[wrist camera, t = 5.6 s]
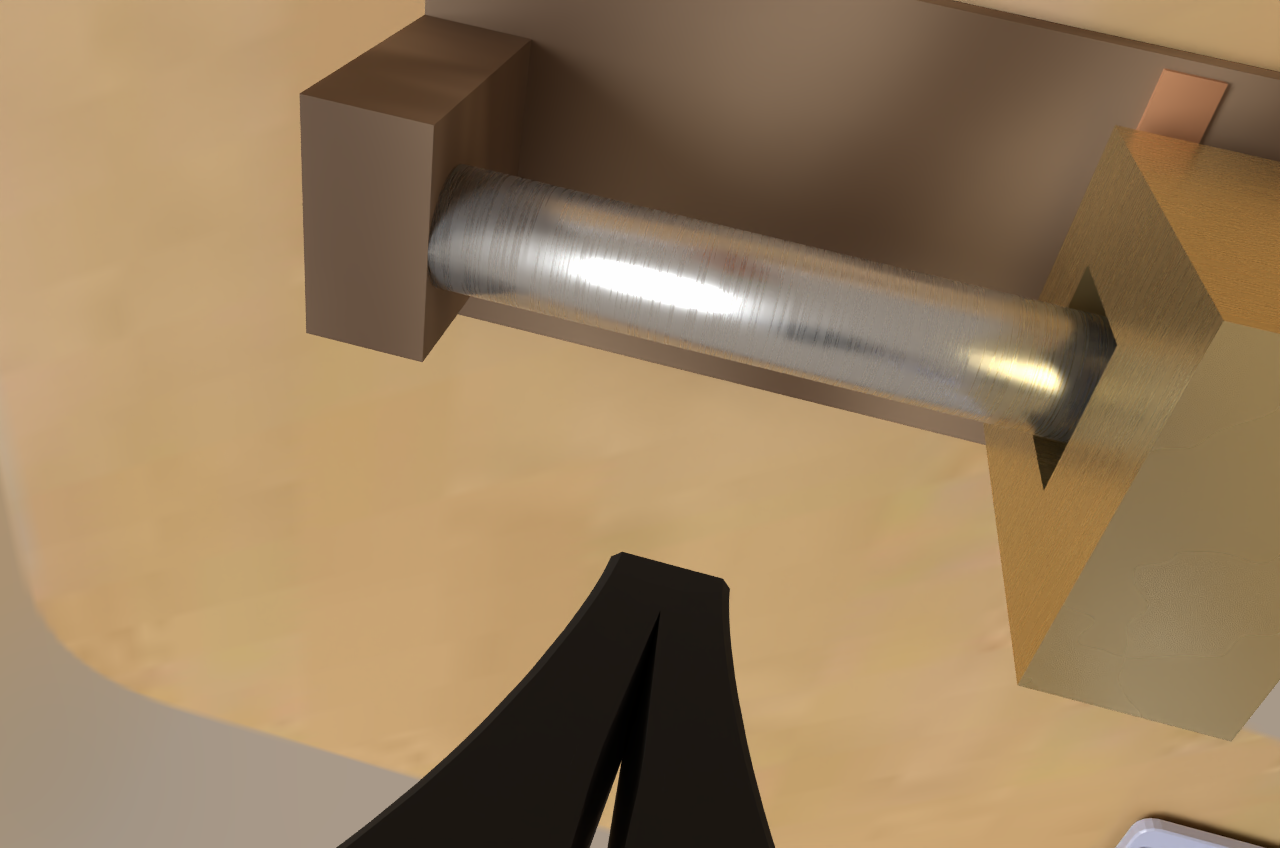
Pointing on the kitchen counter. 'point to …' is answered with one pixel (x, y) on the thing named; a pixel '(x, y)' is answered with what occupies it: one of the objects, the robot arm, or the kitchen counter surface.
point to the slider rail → (740, 145)
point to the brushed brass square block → (1158, 450)
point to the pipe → (768, 302)
